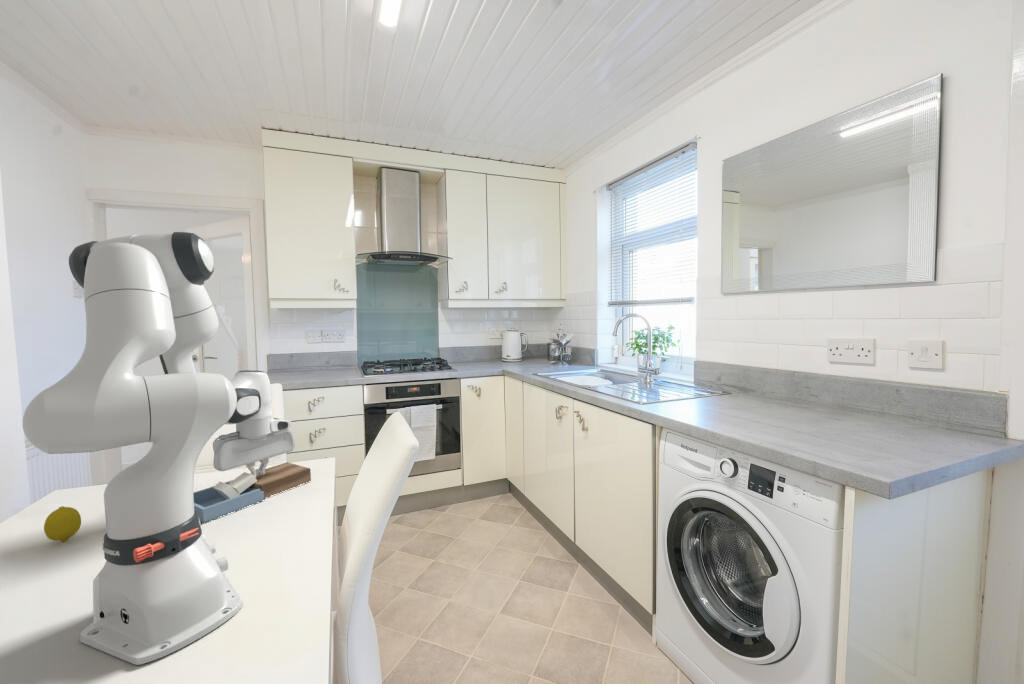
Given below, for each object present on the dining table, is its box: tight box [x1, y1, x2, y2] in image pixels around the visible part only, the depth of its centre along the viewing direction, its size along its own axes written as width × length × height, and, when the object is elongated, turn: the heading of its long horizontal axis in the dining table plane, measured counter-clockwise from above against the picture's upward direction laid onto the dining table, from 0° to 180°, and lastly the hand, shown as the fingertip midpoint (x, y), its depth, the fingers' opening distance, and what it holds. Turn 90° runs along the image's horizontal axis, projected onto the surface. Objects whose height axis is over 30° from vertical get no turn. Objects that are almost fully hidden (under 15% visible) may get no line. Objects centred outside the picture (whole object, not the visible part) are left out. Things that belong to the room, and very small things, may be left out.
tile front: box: [212, 481, 240, 500], centre depth 108 cm, size 5×5×2 cm
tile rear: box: [228, 471, 257, 494], centre depth 111 cm, size 5×5×2 cm
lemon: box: [43, 505, 82, 543], centre depth 90 cm, size 6×6×8 cm
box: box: [194, 479, 265, 524], centre depth 107 cm, size 14×14×4 cm
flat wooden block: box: [250, 461, 312, 498], centre depth 118 cm, size 12×14×4 cm
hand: (258, 476), depth 114 cm, fingers closed
